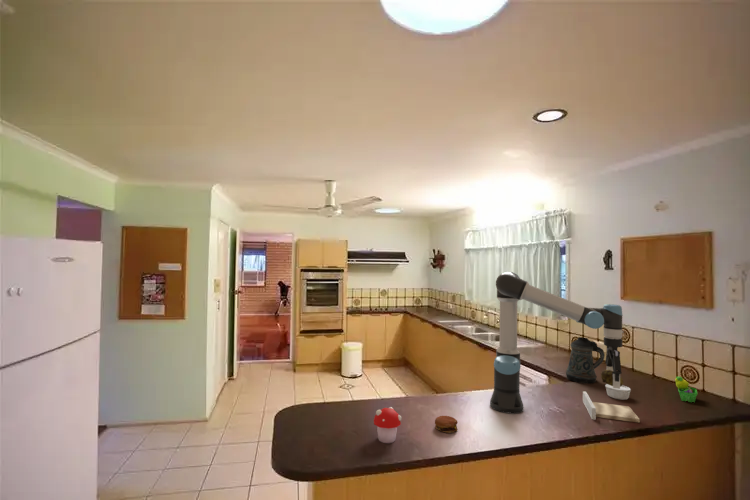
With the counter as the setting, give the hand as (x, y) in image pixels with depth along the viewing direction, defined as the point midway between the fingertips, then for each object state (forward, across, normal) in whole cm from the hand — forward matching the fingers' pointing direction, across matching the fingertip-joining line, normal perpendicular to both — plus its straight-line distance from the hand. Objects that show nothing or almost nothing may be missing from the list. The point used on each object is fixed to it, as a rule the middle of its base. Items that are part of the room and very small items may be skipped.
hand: (613, 384), depth 180 cm
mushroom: (+13, -65, +90) cm, 112 cm away
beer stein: (+14, +54, +4) cm, 56 cm away
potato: (+1, 0, 0) cm, 1 cm away
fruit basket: (+14, +37, -41) cm, 57 cm away
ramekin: (+14, +27, -8) cm, 31 cm away
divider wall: (+13, 0, +10) cm, 17 cm away
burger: (+14, -47, +70) cm, 85 cm away
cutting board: (+13, 0, 0) cm, 13 cm away
